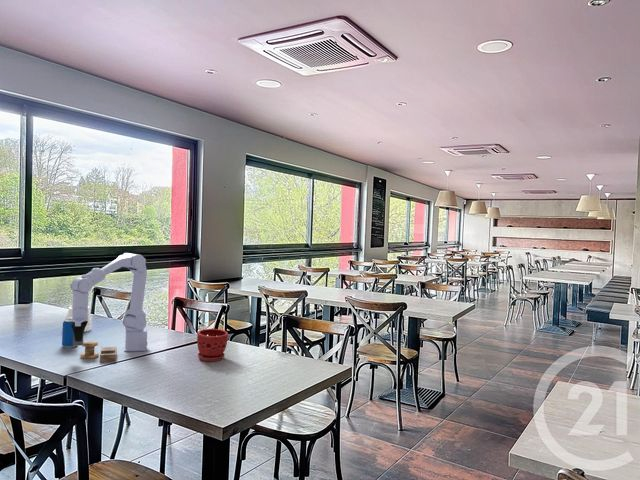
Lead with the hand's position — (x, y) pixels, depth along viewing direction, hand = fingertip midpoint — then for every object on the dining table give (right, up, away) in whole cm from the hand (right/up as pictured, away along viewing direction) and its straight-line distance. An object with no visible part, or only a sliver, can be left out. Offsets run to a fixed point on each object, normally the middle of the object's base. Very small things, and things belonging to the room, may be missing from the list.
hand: (79, 339), depth 194 cm
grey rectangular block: (0, -2, 0) cm, 2 cm away
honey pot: (-27, -6, +52) cm, 59 cm away
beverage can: (-15, -8, +21) cm, 27 cm away
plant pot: (+51, -12, +14) cm, 54 cm away
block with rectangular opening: (+9, -9, +7) cm, 15 cm away
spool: (+1, -9, +7) cm, 11 cm away
